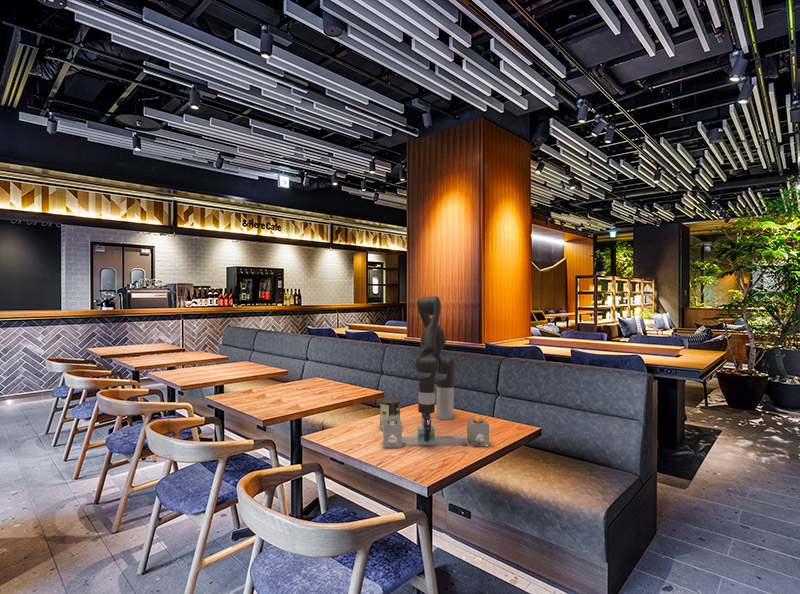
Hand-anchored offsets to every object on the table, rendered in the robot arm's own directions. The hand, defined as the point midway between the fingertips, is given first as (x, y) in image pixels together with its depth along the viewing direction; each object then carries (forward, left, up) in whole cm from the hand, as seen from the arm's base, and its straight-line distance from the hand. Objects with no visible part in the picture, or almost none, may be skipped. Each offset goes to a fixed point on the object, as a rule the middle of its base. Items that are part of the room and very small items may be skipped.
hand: (426, 438), depth 187 cm
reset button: (0, +24, +6) cm, 24 cm away
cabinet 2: (0, +24, -2) cm, 24 cm away
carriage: (0, 0, -1) cm, 1 cm away
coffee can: (-23, -15, -3) cm, 28 cm away
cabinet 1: (0, -15, -2) cm, 15 cm away
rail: (0, +4, -2) cm, 4 cm away
